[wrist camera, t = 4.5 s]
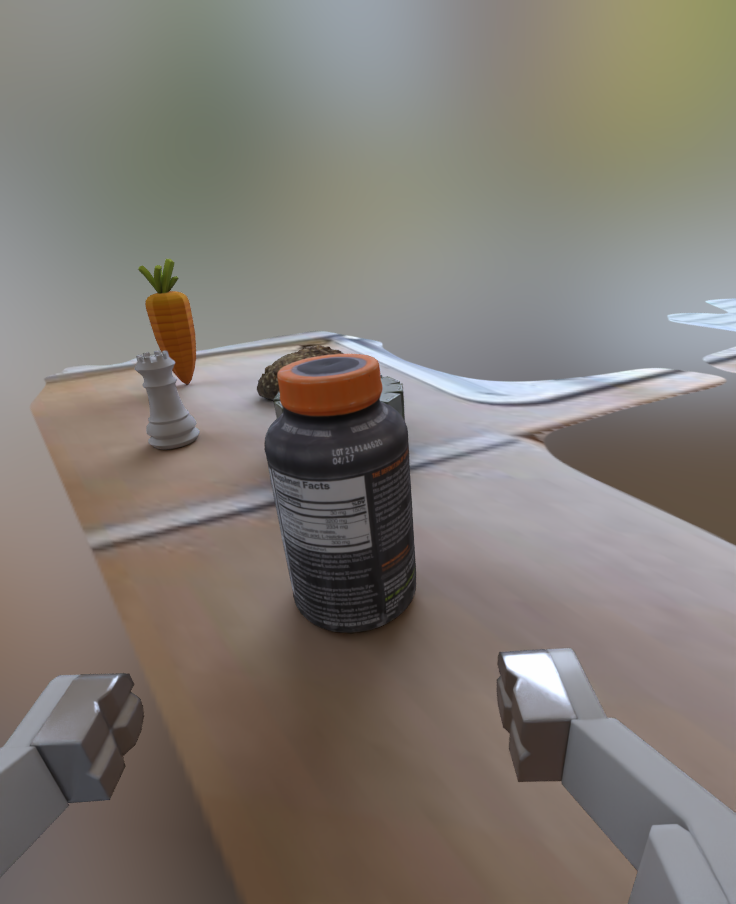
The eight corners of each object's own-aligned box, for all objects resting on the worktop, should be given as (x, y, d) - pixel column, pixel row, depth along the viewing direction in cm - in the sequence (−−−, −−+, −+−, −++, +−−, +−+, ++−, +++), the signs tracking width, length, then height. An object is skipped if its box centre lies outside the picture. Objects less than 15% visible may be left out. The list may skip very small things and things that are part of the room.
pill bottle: (370, 540, 27) (352, 339, 22) (442, 596, 22) (438, 358, 17) (274, 585, 24) (228, 365, 19) (333, 661, 19) (293, 396, 14)
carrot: (158, 389, 60) (123, 262, 54) (184, 378, 64) (155, 259, 58) (190, 390, 58) (158, 259, 52) (215, 379, 62) (188, 256, 56)
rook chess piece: (144, 441, 44) (118, 355, 40) (192, 427, 46) (171, 345, 43) (156, 455, 40) (129, 363, 37) (207, 440, 43) (186, 352, 39)
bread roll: (243, 401, 52) (234, 357, 50) (303, 371, 62) (298, 333, 60) (344, 410, 47) (339, 361, 45) (392, 375, 57) (390, 334, 55)
